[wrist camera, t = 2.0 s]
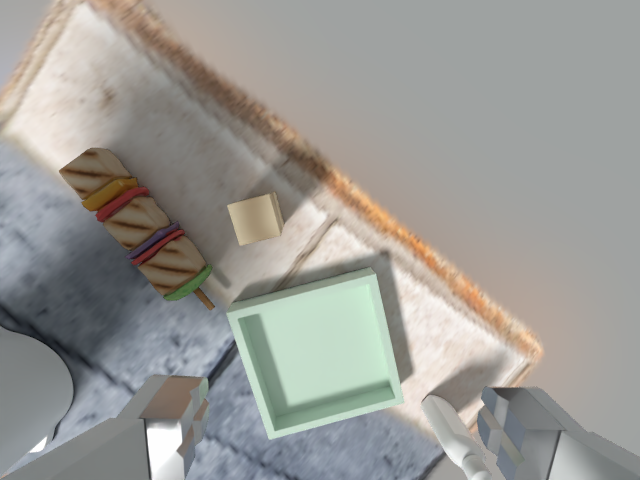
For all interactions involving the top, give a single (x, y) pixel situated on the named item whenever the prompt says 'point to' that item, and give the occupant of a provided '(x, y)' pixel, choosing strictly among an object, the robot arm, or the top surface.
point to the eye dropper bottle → (455, 437)
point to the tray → (317, 352)
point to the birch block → (256, 218)
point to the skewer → (138, 224)
